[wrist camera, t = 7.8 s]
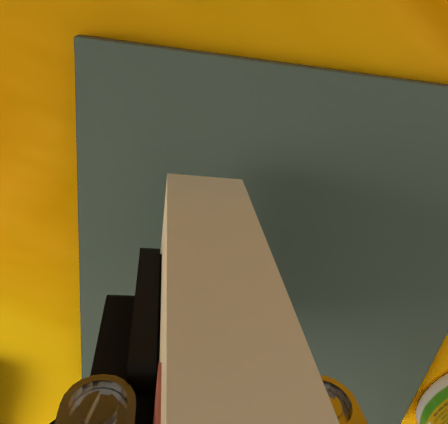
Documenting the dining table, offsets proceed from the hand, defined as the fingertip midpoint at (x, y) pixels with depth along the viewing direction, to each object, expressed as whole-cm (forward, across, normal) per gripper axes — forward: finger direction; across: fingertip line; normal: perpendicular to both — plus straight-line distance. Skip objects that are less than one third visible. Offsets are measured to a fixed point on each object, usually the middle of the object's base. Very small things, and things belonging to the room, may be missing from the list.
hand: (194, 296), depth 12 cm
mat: (+3, -4, +2) cm, 5 cm away
